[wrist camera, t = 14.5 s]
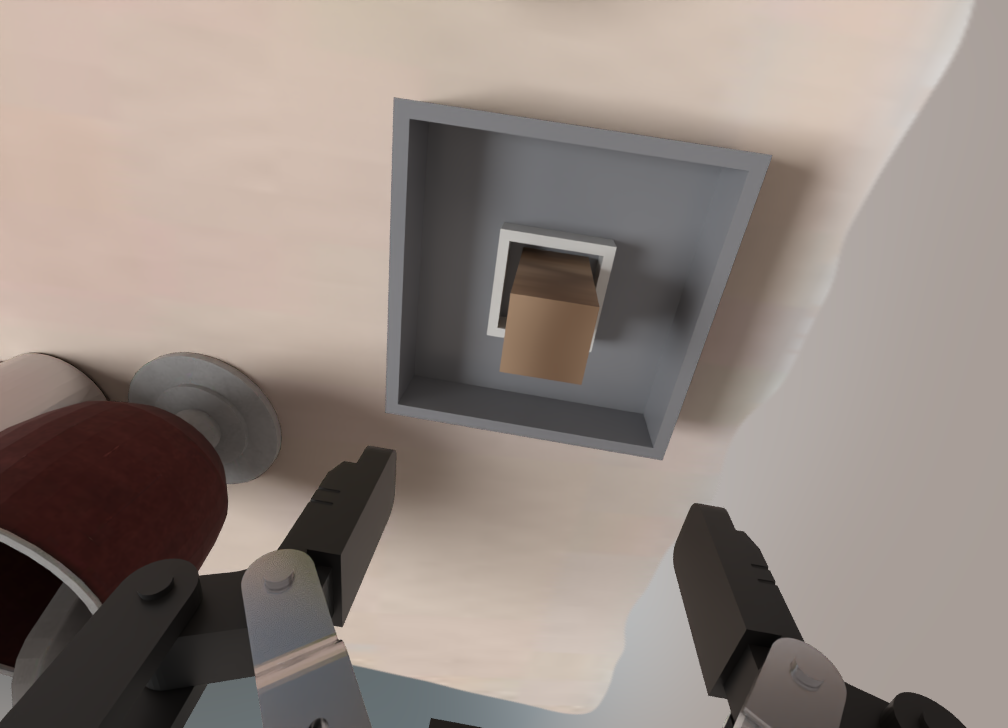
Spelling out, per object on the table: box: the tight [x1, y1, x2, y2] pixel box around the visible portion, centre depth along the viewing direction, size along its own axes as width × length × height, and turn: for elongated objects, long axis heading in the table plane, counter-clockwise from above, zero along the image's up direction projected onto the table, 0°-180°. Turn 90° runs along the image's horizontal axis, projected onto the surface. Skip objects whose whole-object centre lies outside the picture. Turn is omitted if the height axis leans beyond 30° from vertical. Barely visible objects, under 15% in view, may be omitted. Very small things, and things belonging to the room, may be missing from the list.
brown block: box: [499, 247, 600, 385], centre depth 26 cm, size 4×4×9 cm
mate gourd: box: [0, 352, 282, 707], centre depth 31 cm, size 16×14×20 cm
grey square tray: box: [385, 97, 772, 460], centre depth 29 cm, size 18×18×5 cm
